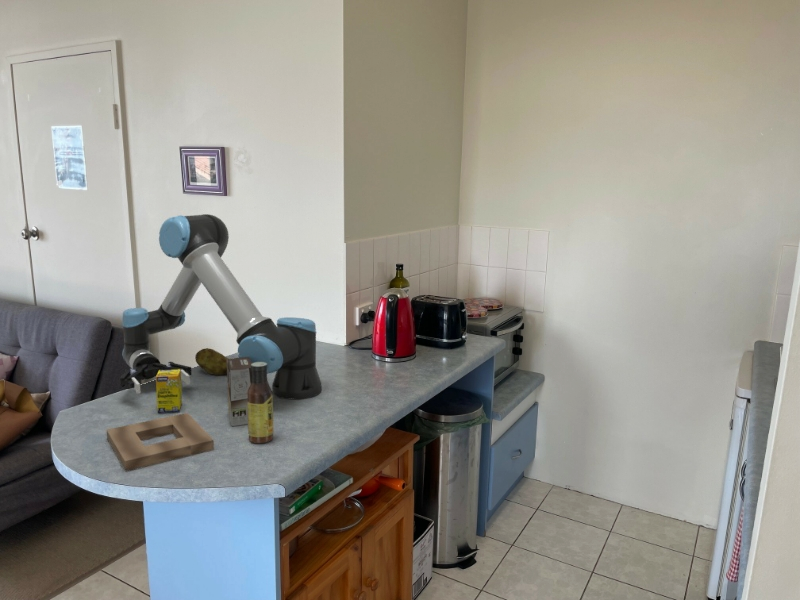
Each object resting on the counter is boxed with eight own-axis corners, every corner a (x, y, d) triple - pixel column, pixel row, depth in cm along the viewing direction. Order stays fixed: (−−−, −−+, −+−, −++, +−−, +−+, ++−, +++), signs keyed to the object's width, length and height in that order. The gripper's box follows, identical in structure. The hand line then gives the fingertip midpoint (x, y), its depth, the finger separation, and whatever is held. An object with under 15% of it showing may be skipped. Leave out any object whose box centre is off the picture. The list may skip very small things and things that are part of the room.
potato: (218, 380, 193) (217, 356, 192) (191, 372, 200) (190, 349, 198) (237, 373, 200) (237, 350, 199) (211, 366, 207) (210, 344, 205)
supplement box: (157, 414, 165) (155, 376, 163) (160, 406, 171) (158, 369, 169) (180, 412, 167) (178, 375, 164) (182, 404, 172) (180, 368, 170)
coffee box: (255, 423, 161) (254, 367, 157) (231, 426, 158) (229, 370, 154) (250, 409, 169) (249, 356, 165) (227, 412, 167) (225, 358, 163)
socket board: (188, 421, 161) (187, 412, 160) (213, 449, 145) (213, 440, 145) (107, 438, 149) (106, 429, 149) (125, 471, 134) (125, 461, 133)
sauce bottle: (274, 443, 150) (273, 367, 145) (248, 445, 148) (247, 369, 144) (272, 432, 156) (271, 359, 152) (247, 434, 154) (245, 361, 150)
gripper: (186, 369, 195) (208, 388, 178) (102, 383, 180) (117, 405, 163) (185, 347, 193) (207, 364, 176) (100, 359, 179) (115, 379, 162)
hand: (164, 384), depth 170 cm, fingers open, 13 cm apart
